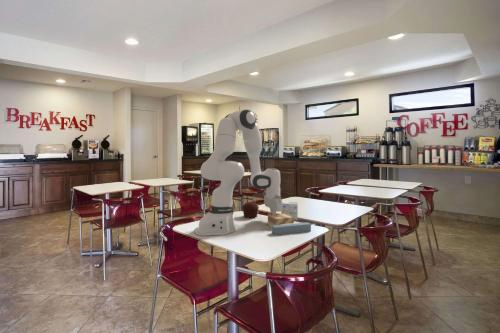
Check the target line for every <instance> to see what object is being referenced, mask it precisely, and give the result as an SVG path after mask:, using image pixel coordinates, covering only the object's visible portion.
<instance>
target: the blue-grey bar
mask: <svg viewBox="0 0 500 333" xmlns="http://www.w3.org/2000/svg"><path fill="white" fill-rule="evenodd" d="M311 229H312V224H311V223H310V222H307V221H306V222H294V223H292V224H281V225H274V226H272V227H271V234H273V235H274V236H277V235H278V236H279V235H289V234H296V233H305V232H312V230H311Z"/></svg>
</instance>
